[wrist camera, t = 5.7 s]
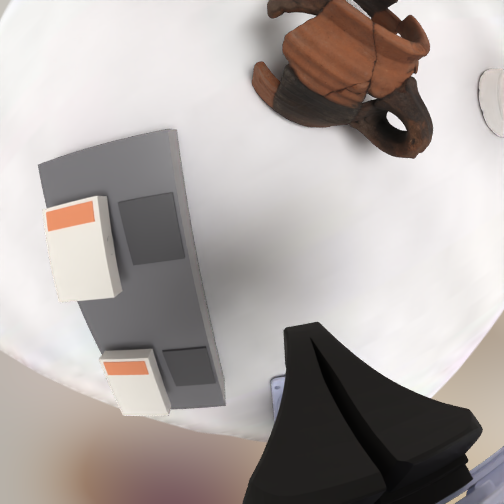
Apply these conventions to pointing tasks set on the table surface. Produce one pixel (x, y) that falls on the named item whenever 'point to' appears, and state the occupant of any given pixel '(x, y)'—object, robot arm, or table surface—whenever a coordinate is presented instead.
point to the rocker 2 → (136, 382)
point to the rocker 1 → (82, 250)
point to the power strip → (147, 260)
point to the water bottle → (493, 99)
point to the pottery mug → (351, 72)
